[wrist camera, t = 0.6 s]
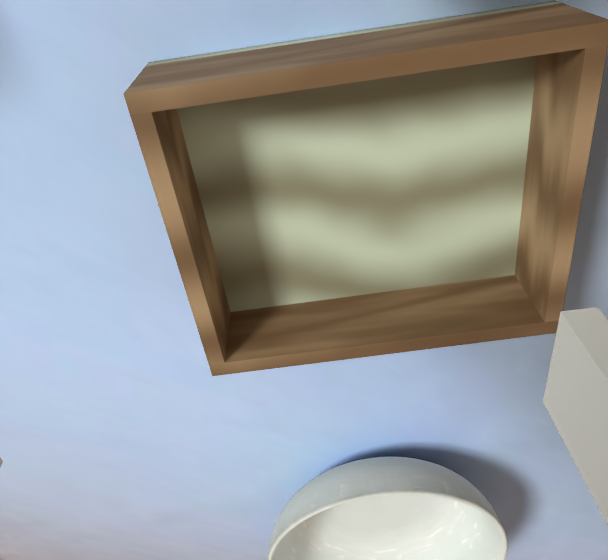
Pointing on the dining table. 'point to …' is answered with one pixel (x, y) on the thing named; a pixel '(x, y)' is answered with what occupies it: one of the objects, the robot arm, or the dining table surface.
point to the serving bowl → (388, 515)
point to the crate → (375, 183)
